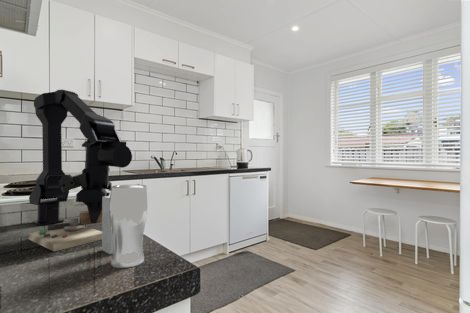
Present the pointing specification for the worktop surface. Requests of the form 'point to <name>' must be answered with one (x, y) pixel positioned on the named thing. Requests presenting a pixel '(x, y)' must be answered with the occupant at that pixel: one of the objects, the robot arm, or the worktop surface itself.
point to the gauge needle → (75, 222)
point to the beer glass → (128, 224)
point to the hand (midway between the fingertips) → (95, 221)
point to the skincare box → (106, 227)
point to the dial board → (65, 238)
